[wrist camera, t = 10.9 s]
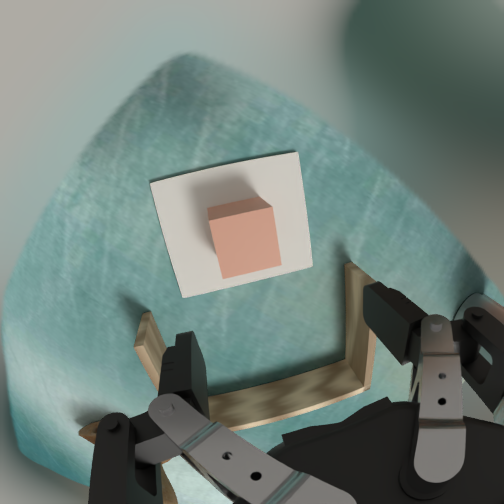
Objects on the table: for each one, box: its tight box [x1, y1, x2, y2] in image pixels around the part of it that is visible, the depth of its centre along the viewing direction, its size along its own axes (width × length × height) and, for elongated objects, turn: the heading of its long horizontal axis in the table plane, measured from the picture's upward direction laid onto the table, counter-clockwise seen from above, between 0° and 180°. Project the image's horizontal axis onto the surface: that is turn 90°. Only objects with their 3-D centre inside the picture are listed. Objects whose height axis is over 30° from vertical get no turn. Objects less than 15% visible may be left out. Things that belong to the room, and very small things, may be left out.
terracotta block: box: [207, 197, 282, 279], centre depth 25 cm, size 5×5×5 cm
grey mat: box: [150, 152, 313, 298], centre depth 28 cm, size 14×12×1 cm
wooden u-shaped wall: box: [134, 262, 376, 431], centre depth 31 cm, size 24×16×6 cm, turn 100°
